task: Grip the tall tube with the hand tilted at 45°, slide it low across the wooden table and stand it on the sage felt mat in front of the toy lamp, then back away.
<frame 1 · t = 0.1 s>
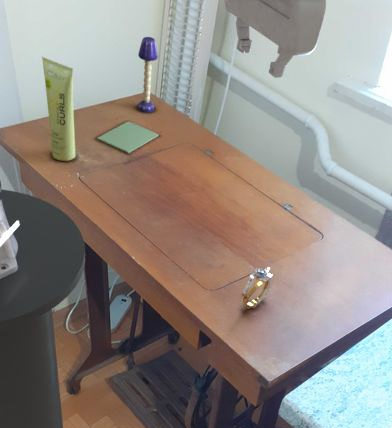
hand: (258, 63, 86), 31 cm above the table, tool pointing down, fingers open, 8 cm apart
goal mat: (128, 137, 128), on the table
toy lamp: (145, 109, 139), on the table
ring: (252, 307, 94), on the table
tube: (63, 156, 119), on the table
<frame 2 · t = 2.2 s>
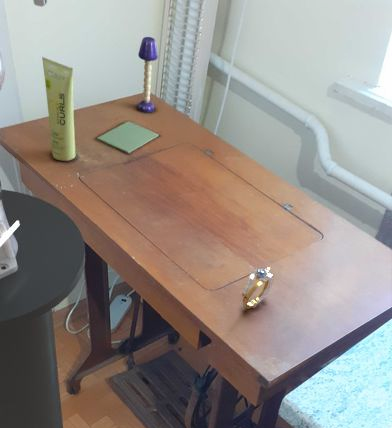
nothing on the table moved.
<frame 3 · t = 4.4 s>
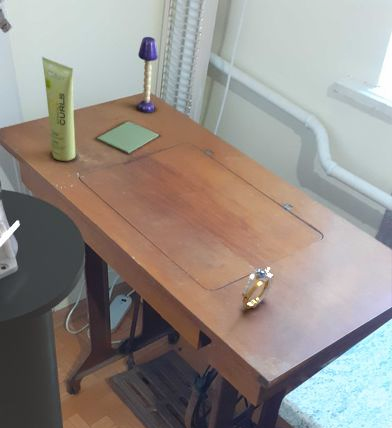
nothing on the table moved.
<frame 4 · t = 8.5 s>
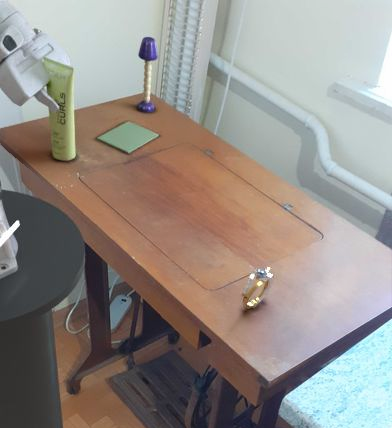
hand: (63, 104, 110), 11 cm above the table, tool tilted 45°, fingers closed on tube, 4 cm apart
tube: (63, 156, 119), on the table, touching gripper
everything else where it was.
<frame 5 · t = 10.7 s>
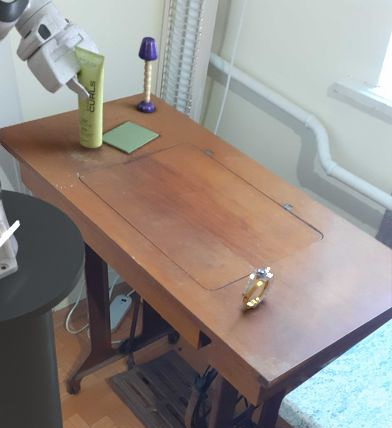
hand: (92, 93, 113), 12 cm above the table, tool tilted 45°, fingers closed on tube, 4 cm apart
tube: (90, 143, 122), point 1 cm above the table, touching gripper
everything else where it was.
when the fingers open (12 cm above the table, at t = 13.3 s): tube stays where it is, resting on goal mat.
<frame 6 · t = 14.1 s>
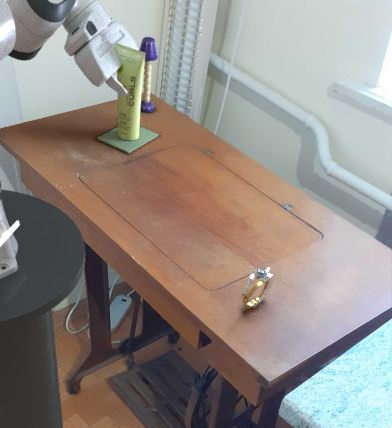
hand: (133, 86, 119), 12 cm above the table, tool tilted 45°, fingers open, 8 cm apart
tube: (127, 136, 127), resting on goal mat
everything else where it was.
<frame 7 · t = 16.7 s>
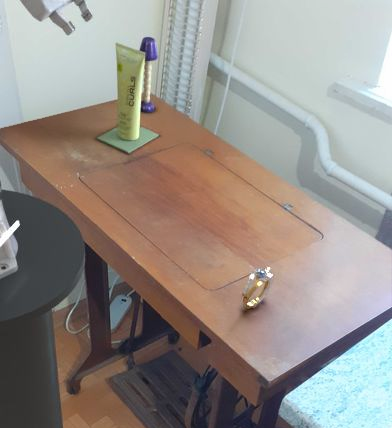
hand: (81, 25, 113), 22 cm above the table, tool tilted 45°, fingers open, 8 cm apart
nothing on the table moved.
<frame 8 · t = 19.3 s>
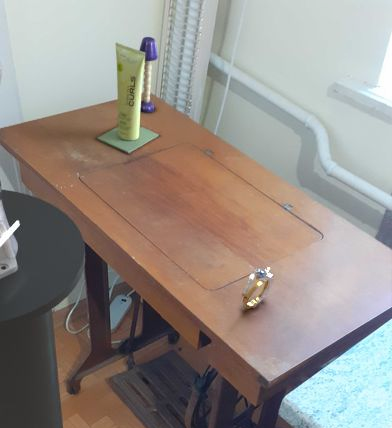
nothing on the table moved.
at the end: tube inside the target area on the table beside the toy lamp (0.2 cm from its centre), resting on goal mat; tube tilted 0°; toy lamp moved 0.2 cm from its start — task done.
